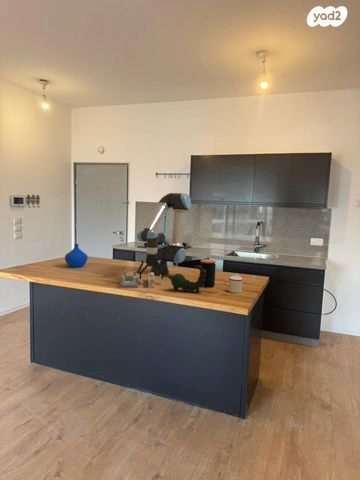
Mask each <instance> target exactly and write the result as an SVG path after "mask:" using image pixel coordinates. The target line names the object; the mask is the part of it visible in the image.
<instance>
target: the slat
mask: <svg viewBox="0 0 360 480" xmlns="http://www.w3.org/2000/svg"><path fill="white" fill-rule="evenodd" d="M155 281H156V278H155V275H154V273H153V272H150V271H149V272H147V285H148V289H155V286H156V285H155Z"/></svg>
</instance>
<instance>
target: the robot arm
mask: <svg viewBox="0 0 360 480" xmlns="http://www.w3.org/2000/svg"><path fill="white" fill-rule="evenodd" d="M191 199H192V198H191V196H190V195H189V194H188V193H182V192H181V193H180V192H175V193H174V192H169V193H167V194H165V195H164V196H162V197H161V198H160V199H159V201H158V202H157V204H156V207H155V210H154V212H153V213H152V215H151V216H150V218H149V220H148V222H147V223H146V224H145V227H144V228H143V230H140V231H138V232H137V234H136V239H137V240H138V241H139V242H142V243H146V257H145V258H146V259H145V260H144V259H141V263H140V265H139V267H138V269H137V270H136V274H138V275H139V276H138V277H139V278H138V279H139V280H140V285H142V284H143V273H144V272H145V271H146V270H147V268H148V267H150V270H149V272H153V273H154V276H159V285H162V280H164V279H163V278H164V276H169V274H170V270H169V266H168V263H174V264H181V263H182V262H184V260H185V258H186V255H187V252H186V251H187V250H186V249H185V248H184V247H185V246H184V245H183V239H184V238H183V237H184V229H185V228H184V227H185V219H186V218H185V217H186V213H188V210H189V209H191V206H192V200H191ZM169 209H172V211H173V220H172V221H173V222H172V232H171V239H170V243H169V244H165V243H166V242H168V240H169V239H168V234H167V233H165V232H159V231H157V228H158V226H159V224H160V222H161V220H162V219H163V217H164V215H165V214H166V212H168V211H169ZM145 263H146V264H145ZM144 264H145V265H144ZM143 265H144V267H143Z"/></svg>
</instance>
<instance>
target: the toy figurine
mask: <svg viewBox="0 0 360 480" xmlns="http://www.w3.org/2000/svg"><path fill="white" fill-rule="evenodd" d="M193 269H198V271H200V270H201V273H200V272H199V277H198V278H197V280H196V281H190V279H186V277H185V275H184V274H182V273H175V274H173V275H166V277H167V278H168V279H169V280H170V282H171V285H172V286H173V287H172V288H173V290H174V291H178V290H179V289H181V290H182V291H183V292H186V291H187V290H188V291H189V293H193V292H194V291H196V292H200V288H201V287H202V288H205V287H204V283H203V282H205V279H204V278H205V276H206V274H205V273H206V270H205V269H202V267H201V266H200V265H194V266H193Z"/></svg>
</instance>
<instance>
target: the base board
mask: <svg viewBox="0 0 360 480" xmlns="http://www.w3.org/2000/svg"><path fill="white" fill-rule="evenodd" d="M122 279H123V277H120V283H119V288H120V289H129V288H130V289H138V288H139V278H138V277H136V281H135V285H122ZM125 281H133V279H125Z"/></svg>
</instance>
